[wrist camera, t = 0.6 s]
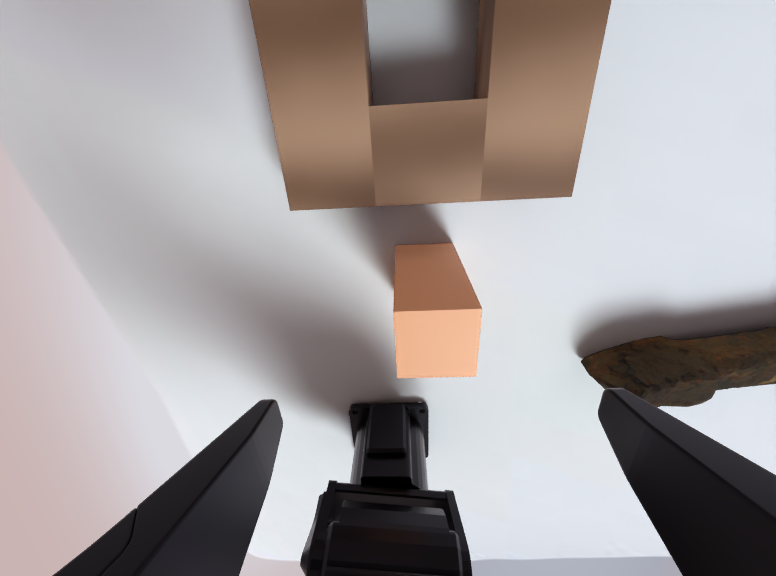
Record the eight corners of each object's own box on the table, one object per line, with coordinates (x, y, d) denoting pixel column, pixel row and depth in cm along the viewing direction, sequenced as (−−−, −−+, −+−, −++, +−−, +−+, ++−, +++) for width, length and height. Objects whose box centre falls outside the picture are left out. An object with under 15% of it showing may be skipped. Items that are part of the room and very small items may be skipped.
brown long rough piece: (881, 297, 21) (998, 338, 17) (851, 346, 23) (950, 394, 19) (581, 325, 23) (621, 369, 19) (575, 369, 25) (610, 418, 21)
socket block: (546, 185, 18) (571, 196, 16) (305, 198, 19) (290, 210, 16) (610, -204, 12) (671, -298, 9) (243, -162, 13) (202, -238, 10)
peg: (450, 293, 22) (476, 376, 15) (397, 295, 22) (397, 378, 15) (452, 242, 20) (482, 308, 13) (395, 245, 20) (393, 311, 13)
